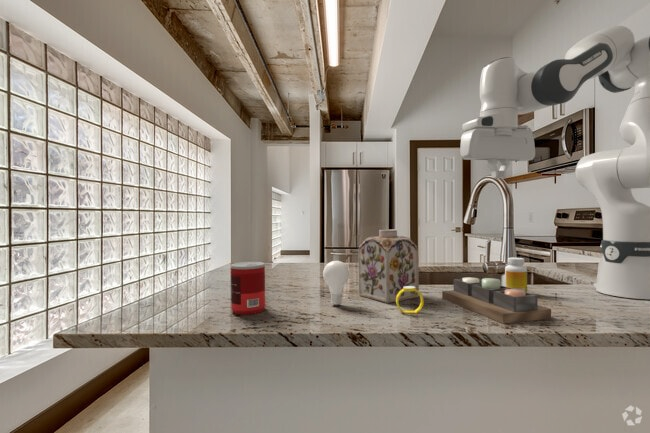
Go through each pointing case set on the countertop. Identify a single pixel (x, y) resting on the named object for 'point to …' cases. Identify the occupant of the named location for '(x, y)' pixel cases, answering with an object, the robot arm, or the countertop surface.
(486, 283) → the sage button
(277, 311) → the countertop surface
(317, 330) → the countertop surface
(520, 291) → the terracotta button
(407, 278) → the decorative jar
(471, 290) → the button board
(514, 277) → the supplement bottle
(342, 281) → the lightbulb
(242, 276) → the canned food
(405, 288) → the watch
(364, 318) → the countertop surface
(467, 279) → the cream button
